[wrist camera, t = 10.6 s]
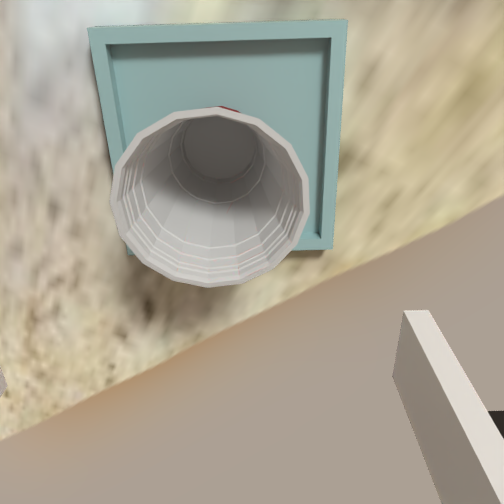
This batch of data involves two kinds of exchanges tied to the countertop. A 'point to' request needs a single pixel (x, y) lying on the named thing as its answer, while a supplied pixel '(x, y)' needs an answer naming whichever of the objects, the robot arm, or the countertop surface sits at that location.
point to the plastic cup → (210, 197)
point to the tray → (233, 89)
